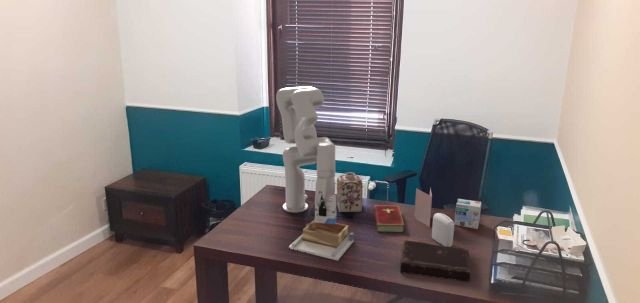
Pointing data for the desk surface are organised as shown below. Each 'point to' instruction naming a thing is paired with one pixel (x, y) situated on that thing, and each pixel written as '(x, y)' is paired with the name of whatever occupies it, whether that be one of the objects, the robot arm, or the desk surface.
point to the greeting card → (423, 207)
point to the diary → (435, 260)
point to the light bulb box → (467, 213)
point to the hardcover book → (388, 218)
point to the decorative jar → (349, 193)
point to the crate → (325, 233)
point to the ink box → (327, 211)
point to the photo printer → (443, 229)
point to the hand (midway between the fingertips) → (325, 212)
